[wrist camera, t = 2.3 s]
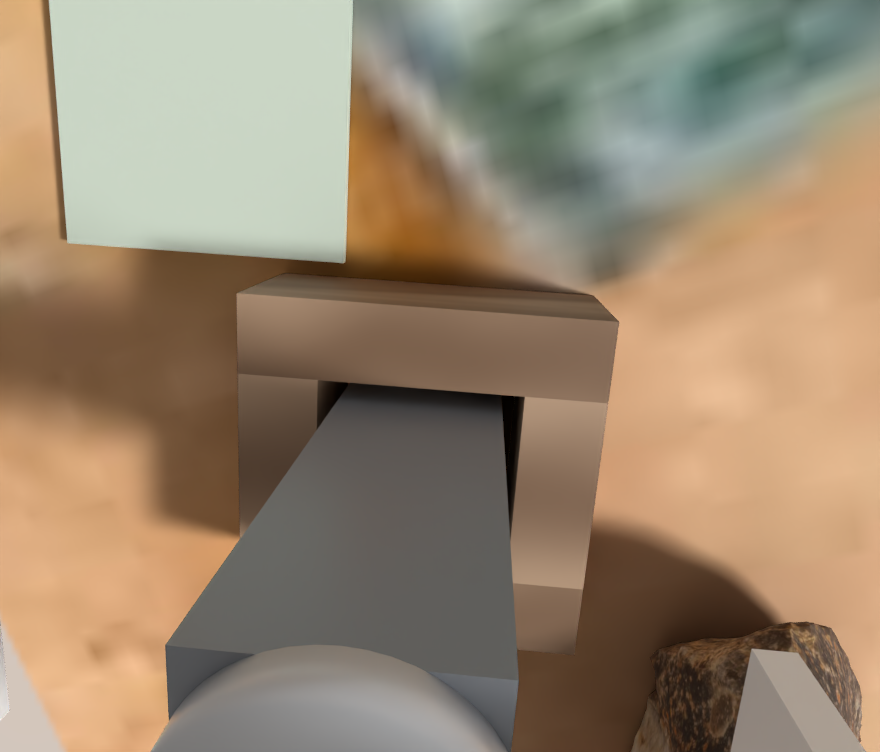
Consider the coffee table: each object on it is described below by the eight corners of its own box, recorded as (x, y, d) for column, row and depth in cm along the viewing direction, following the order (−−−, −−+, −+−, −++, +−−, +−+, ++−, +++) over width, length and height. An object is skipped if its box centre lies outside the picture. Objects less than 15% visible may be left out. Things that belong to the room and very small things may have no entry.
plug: (357, 353, 23) (103, 680, 8) (508, 365, 23) (547, 726, 8) (353, 490, 25) (127, 1001, 9) (494, 503, 24) (506, 1047, 9)
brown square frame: (284, 273, 23) (236, 293, 18) (593, 295, 22) (619, 321, 18) (282, 548, 25) (240, 622, 21) (559, 573, 25) (574, 655, 21)
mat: (51, -68, 21) (43, -73, 20) (354, -53, 20) (351, -57, 20) (74, 242, 23) (67, 243, 23) (345, 261, 22) (343, 263, 22)
